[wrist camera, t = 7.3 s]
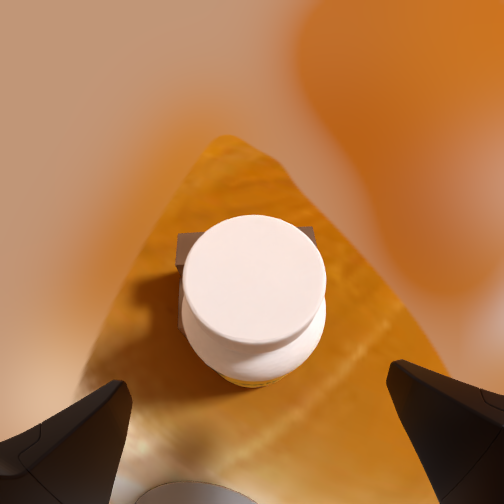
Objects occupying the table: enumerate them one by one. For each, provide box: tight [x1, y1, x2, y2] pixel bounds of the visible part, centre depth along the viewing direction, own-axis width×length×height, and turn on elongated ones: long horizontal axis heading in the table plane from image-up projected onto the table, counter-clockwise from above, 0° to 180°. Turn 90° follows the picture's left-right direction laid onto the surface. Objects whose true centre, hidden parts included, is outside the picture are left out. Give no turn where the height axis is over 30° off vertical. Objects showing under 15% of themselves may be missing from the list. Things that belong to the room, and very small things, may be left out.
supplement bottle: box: [182, 215, 326, 388], centre depth 11 cm, size 5×5×10 cm
